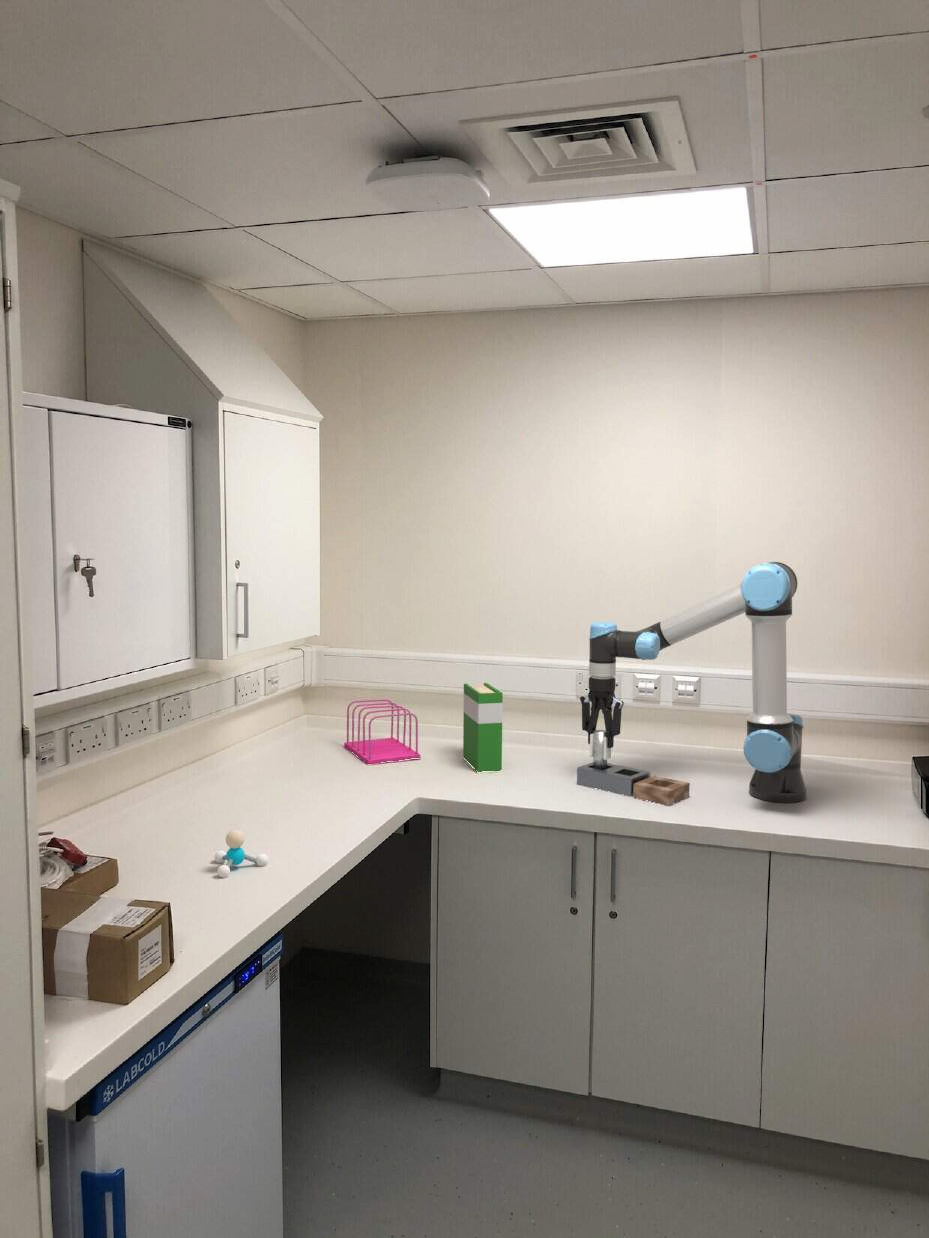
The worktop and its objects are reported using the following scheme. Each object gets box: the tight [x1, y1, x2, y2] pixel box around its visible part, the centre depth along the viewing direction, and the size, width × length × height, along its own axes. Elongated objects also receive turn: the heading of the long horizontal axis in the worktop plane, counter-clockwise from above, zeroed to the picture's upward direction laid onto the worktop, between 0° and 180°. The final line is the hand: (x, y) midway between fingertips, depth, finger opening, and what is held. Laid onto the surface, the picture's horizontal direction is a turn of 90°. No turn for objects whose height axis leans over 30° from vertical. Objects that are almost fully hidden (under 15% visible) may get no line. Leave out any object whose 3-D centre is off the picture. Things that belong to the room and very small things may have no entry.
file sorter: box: [343, 699, 421, 765], centre depth 312 cm, size 17×25×16 cm
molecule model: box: [214, 829, 269, 879], centre depth 212 cm, size 12×12×9 cm
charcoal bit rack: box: [576, 761, 651, 798], centre depth 276 cm, size 18×10×5 cm, turn 49°
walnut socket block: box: [632, 775, 691, 807], centre depth 266 cm, size 11×11×4 cm
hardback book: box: [462, 682, 504, 772], centre depth 298 cm, size 18×7×24 cm, turn 14°
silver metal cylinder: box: [592, 729, 608, 770], centre depth 278 cm, size 4×4×14 cm
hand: (600, 757), depth 279 cm, fingers closed on silver metal cylinder, 4 cm apart
